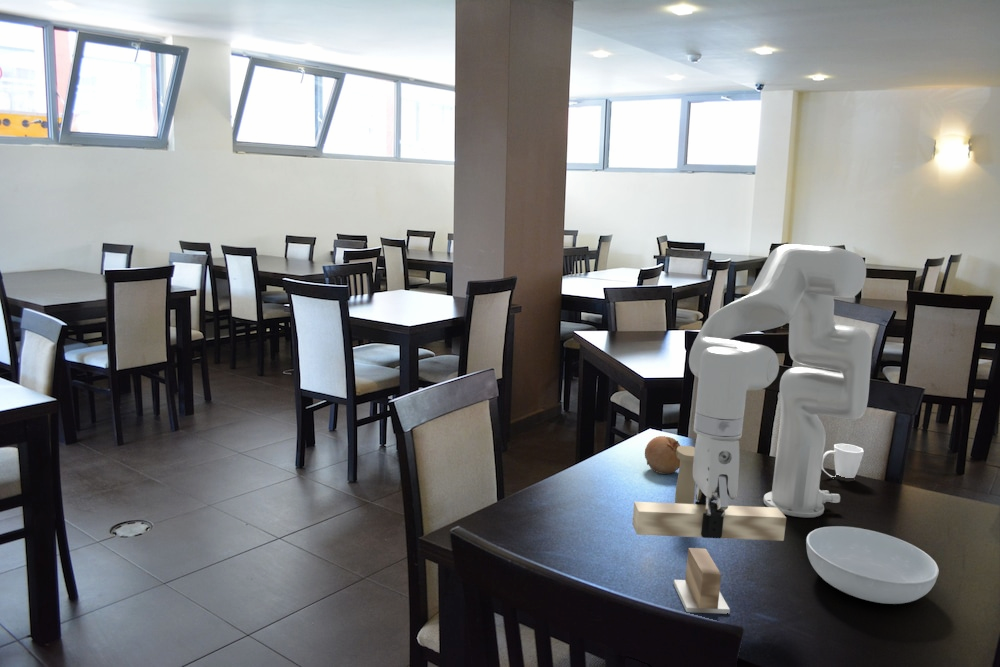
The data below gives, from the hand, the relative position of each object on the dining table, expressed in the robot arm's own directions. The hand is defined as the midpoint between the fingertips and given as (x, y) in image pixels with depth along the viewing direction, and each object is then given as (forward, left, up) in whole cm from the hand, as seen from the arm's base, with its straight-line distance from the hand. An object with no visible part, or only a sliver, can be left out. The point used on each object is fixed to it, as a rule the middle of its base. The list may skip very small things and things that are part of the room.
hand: (707, 529), depth 123 cm
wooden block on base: (0, 0, -12) cm, 12 cm away
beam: (0, 0, 0) cm, 0 cm away
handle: (-5, -32, -13) cm, 35 cm away
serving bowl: (-31, -6, -13) cm, 34 cm away
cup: (-51, -60, -13) cm, 80 cm away
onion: (-7, -60, -13) cm, 62 cm away
